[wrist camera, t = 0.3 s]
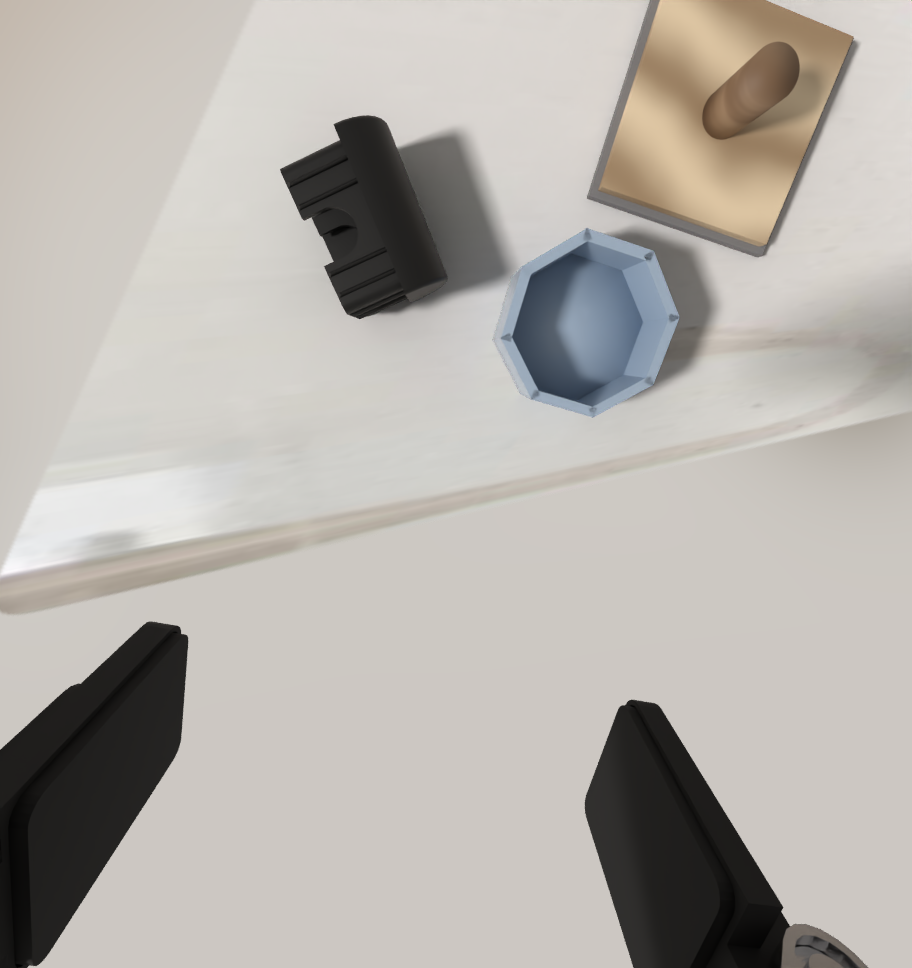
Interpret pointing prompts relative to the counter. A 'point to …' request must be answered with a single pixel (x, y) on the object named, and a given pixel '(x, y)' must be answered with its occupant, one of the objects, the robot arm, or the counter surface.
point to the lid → (723, 112)
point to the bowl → (586, 323)
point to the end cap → (367, 218)
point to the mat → (642, 210)
